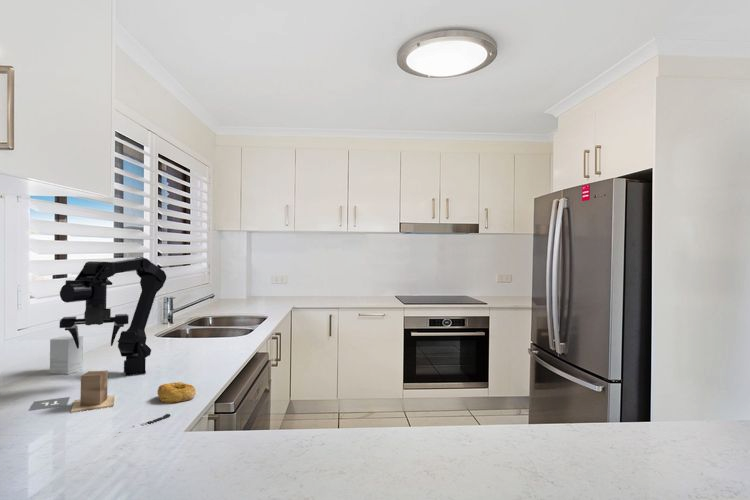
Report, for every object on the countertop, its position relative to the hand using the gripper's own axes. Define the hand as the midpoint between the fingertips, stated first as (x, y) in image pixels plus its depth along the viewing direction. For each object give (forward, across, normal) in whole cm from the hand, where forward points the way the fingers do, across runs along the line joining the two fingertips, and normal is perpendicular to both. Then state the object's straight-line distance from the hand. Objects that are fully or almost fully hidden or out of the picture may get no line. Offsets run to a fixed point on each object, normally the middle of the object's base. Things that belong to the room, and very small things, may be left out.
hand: (95, 347), depth 140 cm
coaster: (+13, +1, -20) cm, 23 cm away
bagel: (+14, +22, -24) cm, 36 cm away
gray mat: (+13, -10, -13) cm, 21 cm away
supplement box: (+13, -10, +26) cm, 31 cm away
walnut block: (+12, +1, -20) cm, 23 cm away
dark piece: (+14, +11, -44) cm, 47 cm away
